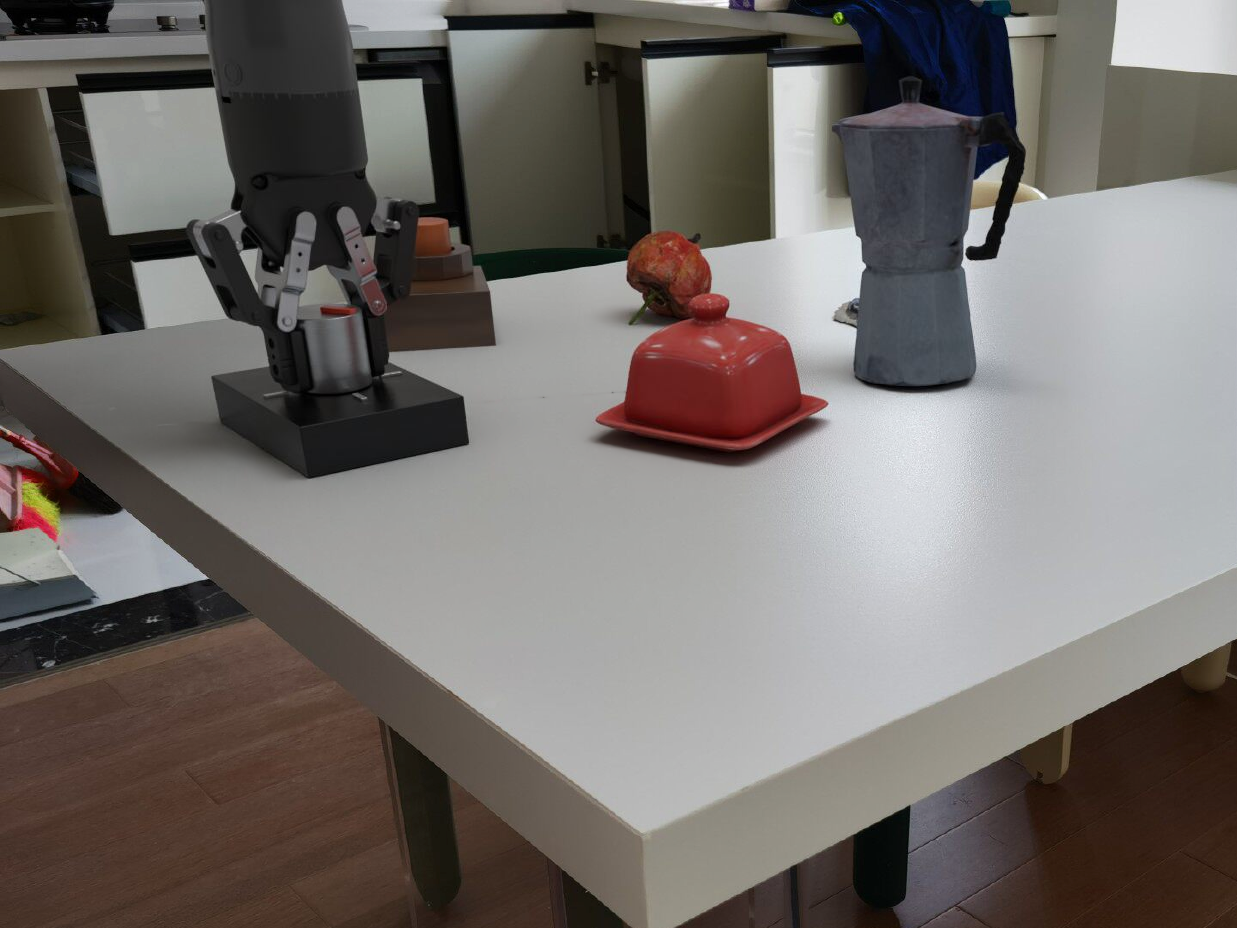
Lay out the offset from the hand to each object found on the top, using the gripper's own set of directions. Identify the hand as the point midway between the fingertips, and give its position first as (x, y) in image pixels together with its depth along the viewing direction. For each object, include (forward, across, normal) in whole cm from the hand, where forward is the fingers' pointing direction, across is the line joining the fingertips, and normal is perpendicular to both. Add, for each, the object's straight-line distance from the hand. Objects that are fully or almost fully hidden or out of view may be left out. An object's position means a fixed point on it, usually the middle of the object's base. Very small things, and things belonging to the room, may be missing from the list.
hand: (333, 381), depth 86 cm
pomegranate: (+3, -35, -7) cm, 36 cm away
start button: (-3, -21, -19) cm, 29 cm away
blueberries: (+3, -47, +5) cm, 47 cm away
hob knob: (0, 0, 0) cm, 0 cm away
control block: (+3, -19, -17) cm, 26 cm away
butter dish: (+3, -16, +17) cm, 23 cm away
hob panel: (+3, 0, 0) cm, 3 cm away
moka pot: (+3, -35, +19) cm, 40 cm away
